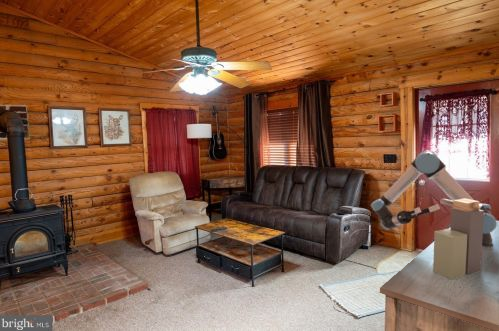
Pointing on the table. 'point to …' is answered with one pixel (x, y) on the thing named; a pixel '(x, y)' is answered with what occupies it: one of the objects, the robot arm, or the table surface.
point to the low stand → (450, 253)
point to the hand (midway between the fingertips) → (429, 207)
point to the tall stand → (470, 235)
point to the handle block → (461, 204)
